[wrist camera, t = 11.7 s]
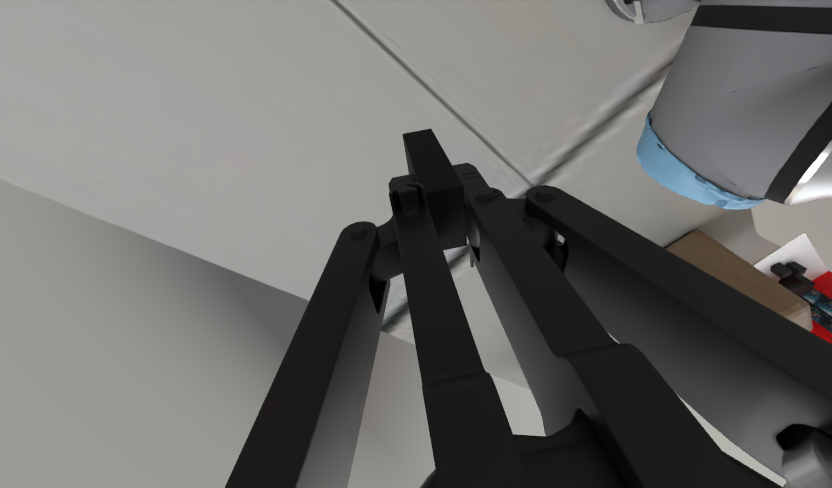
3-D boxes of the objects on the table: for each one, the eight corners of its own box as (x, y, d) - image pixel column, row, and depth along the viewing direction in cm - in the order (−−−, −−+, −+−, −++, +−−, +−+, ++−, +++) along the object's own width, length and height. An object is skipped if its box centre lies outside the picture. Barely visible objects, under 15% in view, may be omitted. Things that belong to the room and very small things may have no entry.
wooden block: (646, 257, 65) (740, 340, 49) (696, 226, 61) (814, 304, 46) (660, 280, 70) (749, 362, 54) (707, 253, 66) (817, 331, 51)
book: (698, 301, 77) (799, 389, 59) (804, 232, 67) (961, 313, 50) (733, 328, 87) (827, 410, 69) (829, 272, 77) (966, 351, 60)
